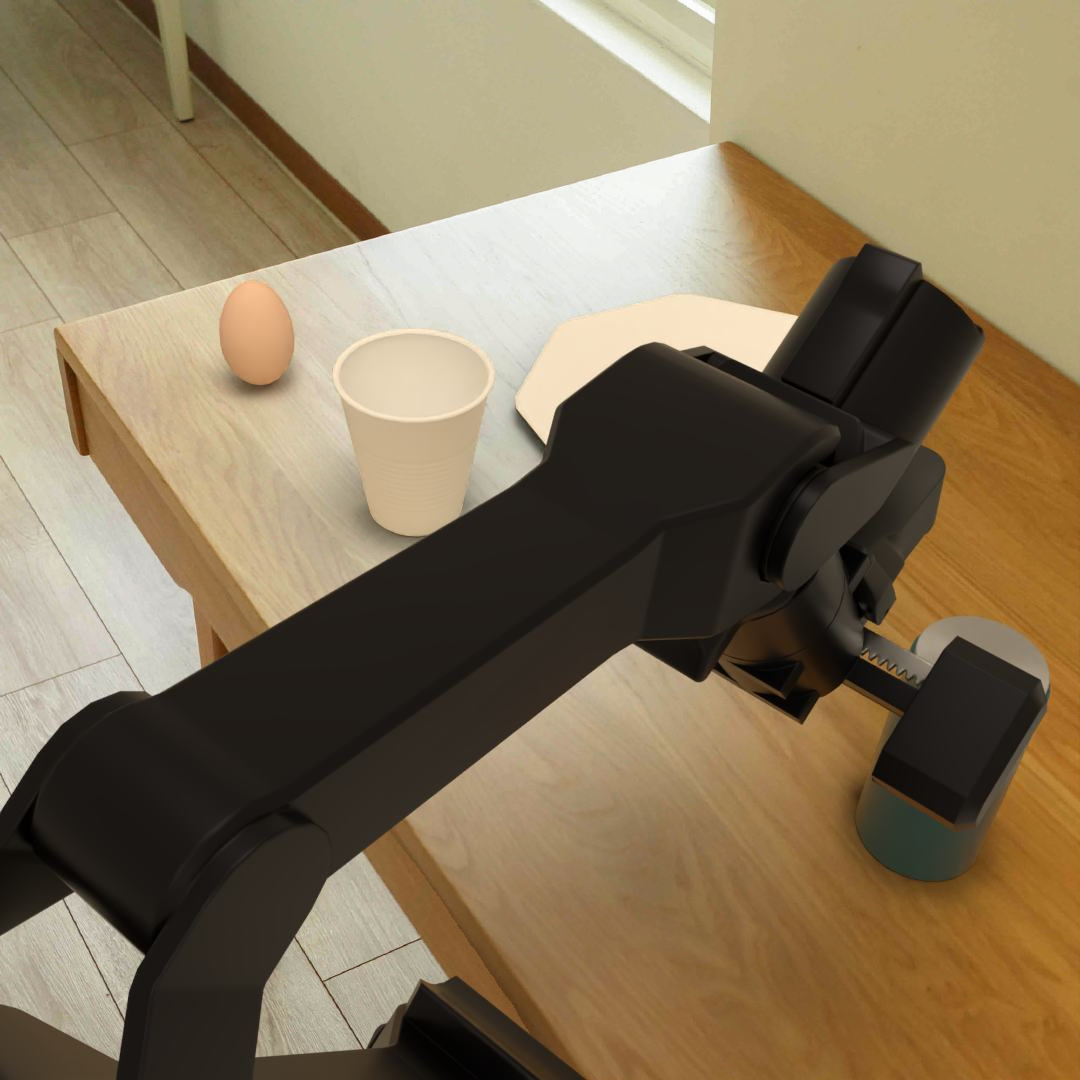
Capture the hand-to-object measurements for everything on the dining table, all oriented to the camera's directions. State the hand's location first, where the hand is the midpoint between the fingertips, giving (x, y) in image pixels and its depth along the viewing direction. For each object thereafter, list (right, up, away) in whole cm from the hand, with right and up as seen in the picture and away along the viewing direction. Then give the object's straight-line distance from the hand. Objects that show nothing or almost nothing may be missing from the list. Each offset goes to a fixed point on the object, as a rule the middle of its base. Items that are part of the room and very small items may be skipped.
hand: (819, 690), depth 61 cm
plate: (0, +16, +38) cm, 42 cm away
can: (+8, -9, +11) cm, 16 cm away
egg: (-33, +18, +39) cm, 54 cm away
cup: (-21, +9, +29) cm, 37 cm away
